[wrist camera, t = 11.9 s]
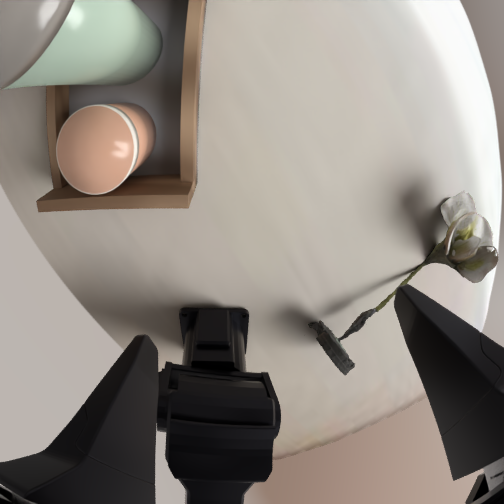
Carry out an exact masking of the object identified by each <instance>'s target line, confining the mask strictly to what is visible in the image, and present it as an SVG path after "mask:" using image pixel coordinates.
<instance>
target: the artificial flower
mask: <svg viewBox="0 0 504 504" xmlns="http://www.w3.org/2000/svg"><path fill="white" fill-rule="evenodd" d="M441 212H442V215H443V218H444V220H445V222H446V224H447V225H448V227H449V229H448V231H447V235H446V238H445V239H444V240H443V241H442V242H441V243H439V244H437V245H436V246H435V248H434V250H433V252H432V253H431V254H430V255H429V256H428V257H427V259H426V260H425V261H424V263H423V264H422V265H420V266H419V267H418V268H417V269H416V270H415V271H414V272H412V273H411V274H410V275H409V277H408V278H407V279H405V280H404V281H403V282H402V283H401V284H400V285H399V286H401V285H405V284H407V282H408V281H409V280H410V279H411V278H412V277H413V276H414V275H415V274H416V273H417V272H418V271H419V270H420V269H421V268H422V267H423V266H425V265H428V264H430V263H441V264H446V265H448V266H450V267H451V268H453V269H455V270H456V271H458V272H459V273H460V275H461V276H462V277H465V278H466V279H468V280H469V281H471V282H472V283H477V282H480V281H482V280H483V278H484V277H485V276H486V274H487V273H488V272H489V271H491V270H492V269H493V268H494V267H495V266H496V265H497V262H498V252H497V250H496V248H495V247H493V241H492V239H493V233H492V230H491V227H490V225H489V223H488V222H487V220H486V219H485V218H484V217H482V216H481V215H479V214H477V212H476V207H475V202H474V200H473V198H472V197H471V195H470V194H469V193H465V191H463V192H460V193H459V194H457V195H456V196H454V197H450V198H449V199H448V200H446V201H445V202H444V203H443V204H442V206H441ZM493 248H494V249H495V250H494V251H492V249H493ZM491 251H492V252H491ZM495 251H496V252H495ZM496 253H497V256H496ZM396 290H397V288H396ZM396 290H395V291H394V292H393V293H392V294H390V295H389V296H388V297H387V298H386V299H385V300H384V301H382V302H381V303H380V304H379V305H378V306H377V307H376V308H374V309H370V310H368V311H365V312H363V313H361V314H360V316H358V317H357V319H356V320H355V321H354V322H353V323H352V325H351V326H350V328H349V329H348V330H347V331H346V332H345V333H344V335H343V336H342V337H341V338H337V337H335V336H334V334H333V333H332V331H331V330H329V328H328V327H326V326H325V325H324V324H323V322H322V321H321V320H320V321H319V323H312V324H309V323H308V325H309V327H310V328H313V329H315V330H317V333H318V337H317V338H316V339H317V341H318V342H319V344H320V345H321V346H322V348H323V349H324V351H325V353H326V354H327V355H328V356H329V358H330V359H331V360H332V362H333V363H334V364H335V366H336V367H337V368H338V369H339V370H340V371H341V372H342V373H343V374H344V375H347V373H348V372H349V371H350V370H351V369H353V368H354V367H355V363H353V362H352V360H350V359H349V356H348V354H347V353H346V351H345V349H344V348H343V347H342V345H341V343H340V340H342V339H344V338H347V337H348V336H349V335H350V334H352V333H354V332H357V331H359V330H360V329H361V328H362V327H363V326H364V324H365V321H366V320H367V319H368V318H369V317H371V316H372V315H373V314H374V313H375V312H378V311H379V310H380V309H381V308H383V307H384V306H385V305H386V303H387V302H389V300H390V299H391V298H392V297H393V296H394V295H395V294H396Z"/></svg>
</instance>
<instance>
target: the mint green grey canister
mask: <svg viewBox="0 0 504 504" xmlns="http://www.w3.org/2000/svg"><path fill="white" fill-rule="evenodd" d="M162 49H163V37H162V34H161V31H160V29H159V27H158V26H157V25H156V24H155V23H154V22H153V21H152V20H151V19H150V18H149V17H148V16H147V15H146V14H145V13H144V12H143V11H142V10H141V9H140V8H139V7H138V6H137V5H136V4H135V3H134V2H133V1H131V0H0V90H3V89H11V88H20V87H31V86H47V85H107V86H125V85H129V84H132V83H134V82H136V81H139V80H140V79H142V78H143V77H145V76H146V75H147V74H148V73H149V72H150V71H151V70H152V69H153V68H154V67H155V65H156V64H157V62H158V60H159V58H160V56H161V53H162Z"/></svg>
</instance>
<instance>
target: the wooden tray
mask: <svg viewBox="0 0 504 504" xmlns="http://www.w3.org/2000/svg"><path fill="white" fill-rule="evenodd" d="M131 1H133V2H134V3H135V4H136V5H137V6H138V7H139V8H140V9H141V10H142V11H143V12H144V13H145V14H146V15H147V16H148V17H149V18H150V19H151V20H152V21H153V22H154V23H155V24H156V25H157V26H158V27H159V29H160V31H161V34H162V37H163V49H162V53H161V56H160V58H159V60H158V62H157V64H156V65H155V67H154V68H153V69H152V70H151V71H150V72H149V73H148V74H147V75H146V76H145V77H143V78H142V79H140V80H139V81H136V82H134V83H132V84H129V85H125V86H107V85H47V86H46V114H47V135H48V148H49V158H50V166H51V174H52V181H53V188H54V189H53V190H51V191H50V192H48V193H47V194H45V195H44V196H43V197H41V198H40V199H38V200H37V201H36V202H37V207H38V212H51V211H71V210H96V209H139V208H189V205H190V202H191V199H192V197H193V194H194V191H195V188H196V185H197V154H198V115H199V91H200V73H201V58H202V45H203V33H204V22H205V12H206V3H207V0H131ZM126 102H127V103H134V104H137V105H139V106H141V107H143V108H144V109H145V110H146V111H147V112H148V113H149V114H150V115H151V117H152V119H153V121H154V123H155V126H156V134H157V136H156V144H155V147H154V150H153V152H152V154H151V155H150V157H149V158H148V159H147V160H146V161H145V162H144V163H143V164H142V165H141V166H140V167H138V168H137V169H136V170H135V171H134V172H132V173H131V174H130V175H129V176H128V177H127V179H126V180H125V181H123V182H122V183H121V184H120V185H119V186H118V187H116V188H115V189H113V190H112V191H109V192H107V193H104V194H98V195H92V194H87V193H83V192H81V191H79V190H77V189H75V188H74V187H73V186H72V185H70V184H69V183H68V182H67V180H66V179H65V178H64V176H63V175H62V173H61V171H60V168H59V165H58V162H57V156H56V146H57V139H58V136H59V133H60V131H61V128H62V126H63V125H64V123H65V122H66V120H67V119H68V118H69V117H70V116H71V115H72V114H73V113H75V112H76V111H78V110H79V109H81V108H84V107H86V106H90V105H98V104H114V103H126Z"/></svg>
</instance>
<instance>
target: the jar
mask: <svg viewBox="0 0 504 504" xmlns="http://www.w3.org/2000/svg"><path fill="white" fill-rule="evenodd" d="M156 136H157V134H156V126H155V123H154V121H153V119H152V117H151V115H150V114H149V113H148V112H147V111H146V110H145V109H144V108H143V107H141V106H139V105H137V104H134V103H127V102H126V103H114V104H98V105H90V106H86V107H84V108H81V109H79V110H78V111H76V112H75V113H73V114H72V115H71V116H70V117H69V118H68V119H67V120H66V122H65V123H64V125H63V126H62V128H61V131H60V133H59V136H58V139H57V146H56V156H57V162H58V165H59V168H60V171H61V173H62V175H63V176H64V178H65V179H66V180H67V182H68V183H69V184H70V185H72V186H73V187H74V188H75V189H77V190H79V191H81V192H83V193H87V194H92V195H98V194H104V193H107V192H109V191H112V190H113V189H115V188H116V187H118V186H119V185H120V184H121V183H122V182H123V181H125V180H126V179H127V177H128V176H129V175H130V174H131V173H132V172H134V171H135V170H136V169H137V168H138V167H140V166H141V165H142V164H143V163H144V162H145V161H146V160H147V159H148V158H149V157H150V155H151V154H152V152H153V150H154V147H155V144H156Z"/></svg>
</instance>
